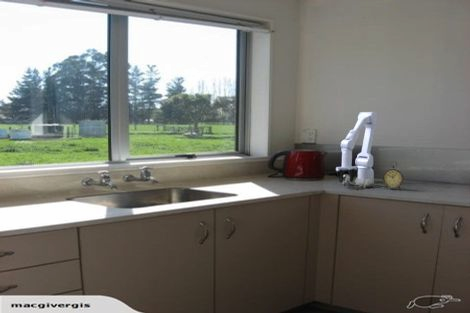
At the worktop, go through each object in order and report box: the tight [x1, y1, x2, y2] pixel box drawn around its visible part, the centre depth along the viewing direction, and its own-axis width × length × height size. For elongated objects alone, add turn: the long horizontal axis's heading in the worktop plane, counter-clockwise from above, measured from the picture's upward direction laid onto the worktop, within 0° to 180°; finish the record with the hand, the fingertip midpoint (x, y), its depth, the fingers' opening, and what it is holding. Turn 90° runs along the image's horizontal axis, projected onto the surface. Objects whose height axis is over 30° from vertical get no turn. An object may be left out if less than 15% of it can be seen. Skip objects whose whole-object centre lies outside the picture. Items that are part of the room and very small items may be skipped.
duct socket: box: [345, 177, 375, 190], centre depth 239 cm, size 18×9×5 cm, turn 117°
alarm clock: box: [382, 160, 404, 191], centre depth 234 cm, size 11×5×16 cm, turn 62°
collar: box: [341, 174, 351, 186], centre depth 249 cm, size 4×4×6 cm
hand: (346, 182), depth 249 cm, fingers open, 7 cm apart
